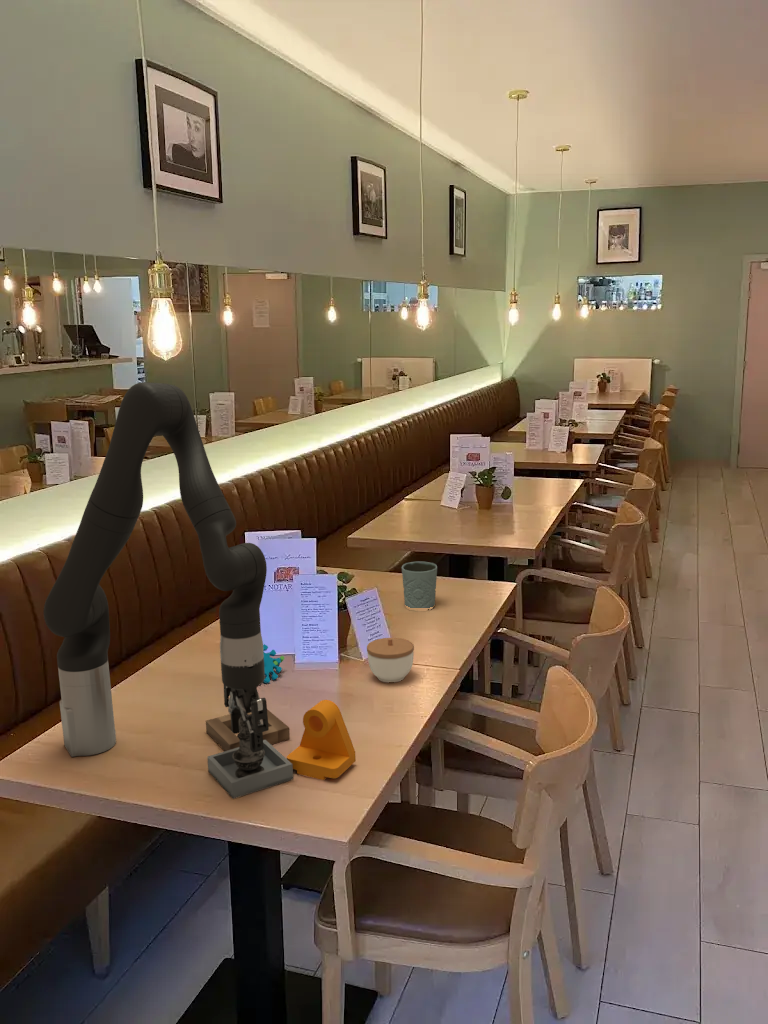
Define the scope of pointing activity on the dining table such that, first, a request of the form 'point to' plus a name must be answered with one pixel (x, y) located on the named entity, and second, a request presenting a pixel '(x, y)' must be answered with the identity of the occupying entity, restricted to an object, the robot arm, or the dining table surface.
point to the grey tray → (273, 774)
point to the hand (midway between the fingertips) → (247, 741)
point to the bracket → (323, 743)
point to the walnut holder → (228, 740)
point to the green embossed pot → (419, 584)
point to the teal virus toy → (271, 664)
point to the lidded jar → (390, 658)
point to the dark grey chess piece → (246, 753)
